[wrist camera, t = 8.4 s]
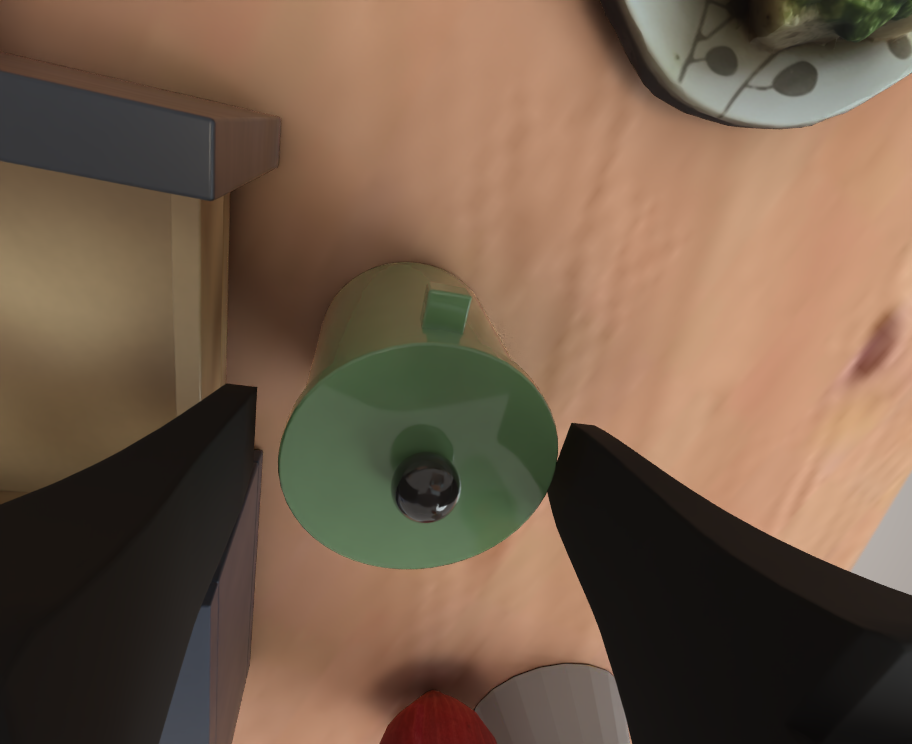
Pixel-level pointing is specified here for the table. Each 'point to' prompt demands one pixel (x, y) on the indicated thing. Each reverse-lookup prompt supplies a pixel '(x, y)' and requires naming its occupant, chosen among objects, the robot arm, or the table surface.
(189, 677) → the cabinet
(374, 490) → the pot
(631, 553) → the robot arm
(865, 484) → the table surface
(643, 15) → the avocado toast plate
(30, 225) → the drawer
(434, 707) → the onion
